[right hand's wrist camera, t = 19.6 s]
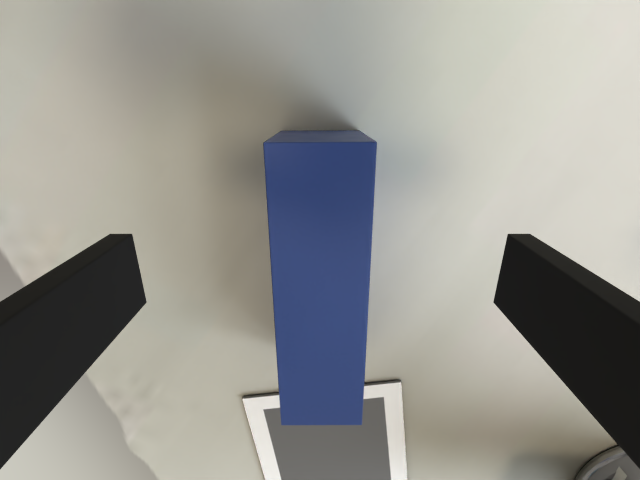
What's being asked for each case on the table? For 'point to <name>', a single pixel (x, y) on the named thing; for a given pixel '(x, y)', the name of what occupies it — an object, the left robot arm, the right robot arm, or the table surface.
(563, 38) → the table surface
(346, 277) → the box
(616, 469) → the left robot arm
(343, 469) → the tablet
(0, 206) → the table surface
